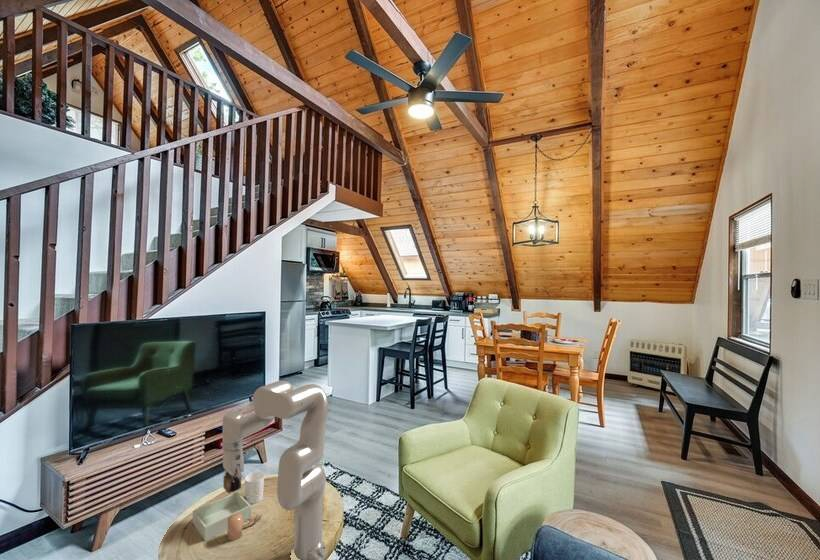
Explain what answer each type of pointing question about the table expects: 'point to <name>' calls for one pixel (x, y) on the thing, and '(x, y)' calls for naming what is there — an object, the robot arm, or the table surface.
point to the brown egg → (234, 526)
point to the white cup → (254, 487)
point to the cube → (229, 482)
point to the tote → (220, 515)
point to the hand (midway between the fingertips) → (232, 486)
